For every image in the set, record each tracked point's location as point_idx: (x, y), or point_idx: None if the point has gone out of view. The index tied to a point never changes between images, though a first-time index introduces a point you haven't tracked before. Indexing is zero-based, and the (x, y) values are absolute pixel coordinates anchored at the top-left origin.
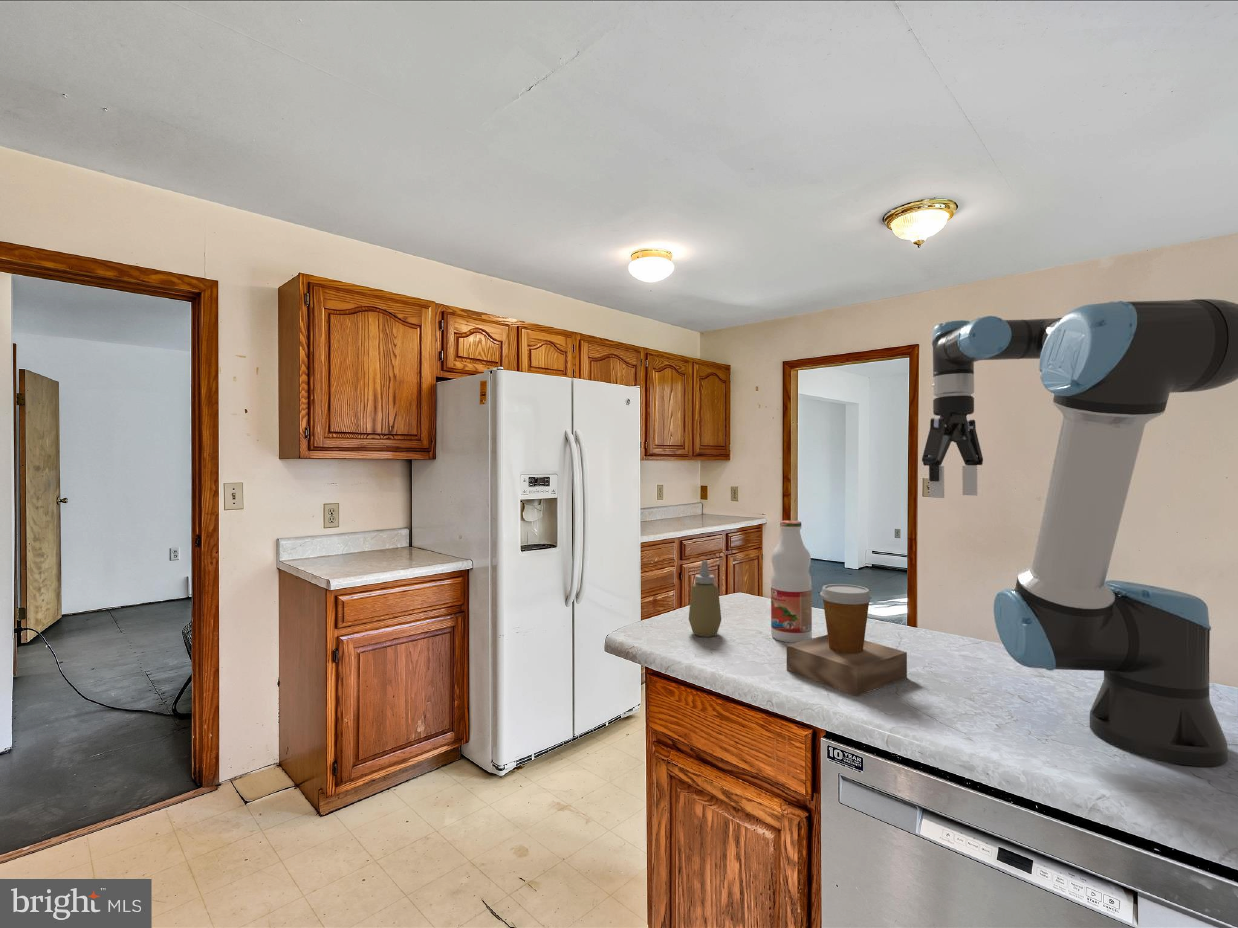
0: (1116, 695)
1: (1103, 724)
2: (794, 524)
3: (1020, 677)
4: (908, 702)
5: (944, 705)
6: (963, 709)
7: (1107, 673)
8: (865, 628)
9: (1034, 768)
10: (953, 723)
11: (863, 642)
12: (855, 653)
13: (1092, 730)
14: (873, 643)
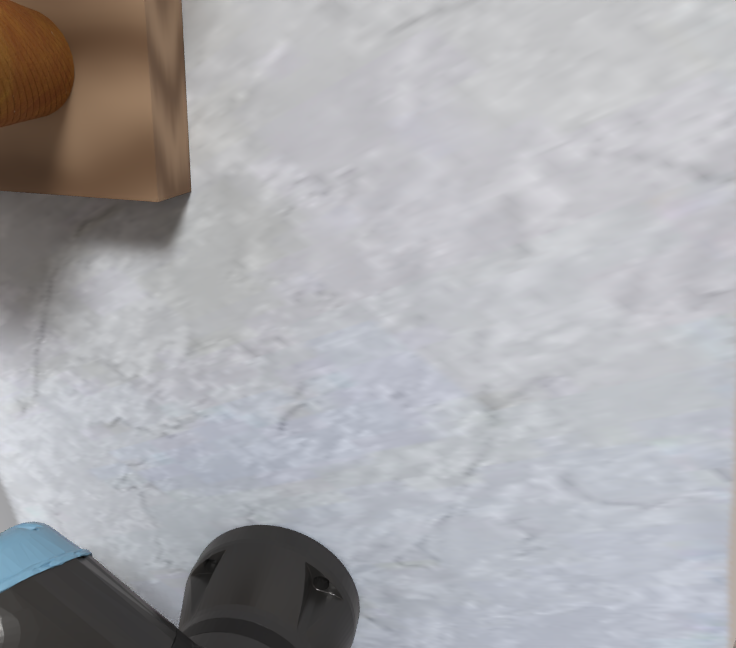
0: (183, 620)
1: (196, 565)
2: None
3: (435, 374)
4: (62, 269)
5: (114, 324)
6: (129, 356)
7: (188, 633)
8: (6, 124)
9: (22, 496)
10: (54, 368)
11: (30, 119)
12: None
13: (225, 533)
14: (143, 87)
